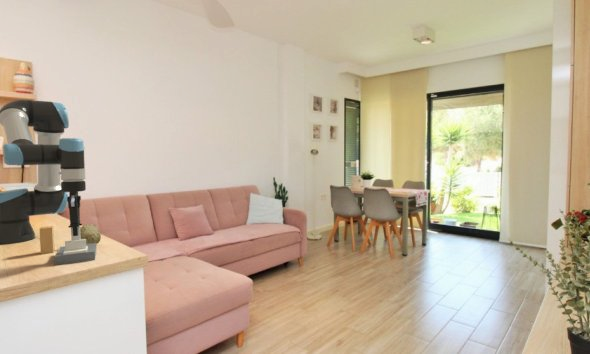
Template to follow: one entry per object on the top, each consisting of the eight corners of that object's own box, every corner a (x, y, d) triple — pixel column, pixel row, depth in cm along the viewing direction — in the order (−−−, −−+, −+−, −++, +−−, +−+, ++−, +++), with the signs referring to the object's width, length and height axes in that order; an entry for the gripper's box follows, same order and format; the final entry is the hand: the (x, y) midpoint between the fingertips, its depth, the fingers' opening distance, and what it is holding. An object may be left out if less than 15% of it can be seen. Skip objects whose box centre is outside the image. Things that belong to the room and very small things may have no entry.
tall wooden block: (42, 251, 135) (41, 226, 135) (54, 250, 137) (53, 225, 136) (40, 254, 132) (39, 228, 131) (53, 252, 133) (52, 227, 133)
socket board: (60, 254, 130) (60, 246, 130) (96, 250, 136) (96, 242, 136) (54, 264, 117) (54, 256, 117) (94, 259, 123) (94, 251, 123)
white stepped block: (65, 250, 125) (65, 239, 125) (87, 247, 128) (87, 237, 128) (63, 254, 119) (62, 243, 119) (86, 252, 122) (86, 241, 122)
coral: (109, 227, 147) (89, 222, 139) (100, 250, 144) (79, 246, 136) (94, 224, 151) (74, 219, 142) (85, 246, 148) (64, 242, 139)
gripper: (63, 180, 127) (66, 241, 129) (58, 182, 116) (61, 249, 117) (86, 179, 131) (89, 239, 132) (84, 181, 120) (86, 246, 121)
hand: (76, 243), depth 125 cm, fingers closed
